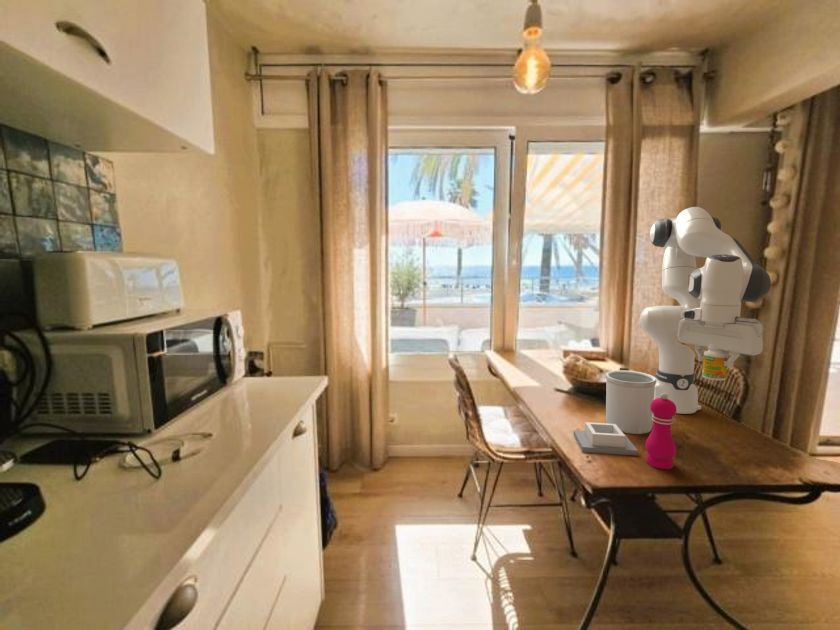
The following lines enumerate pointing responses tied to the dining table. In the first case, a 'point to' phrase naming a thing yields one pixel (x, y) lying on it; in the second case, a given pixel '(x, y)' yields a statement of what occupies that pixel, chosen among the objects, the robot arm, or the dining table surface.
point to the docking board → (604, 439)
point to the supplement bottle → (714, 364)
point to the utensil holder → (630, 400)
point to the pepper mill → (661, 434)
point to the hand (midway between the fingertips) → (714, 364)
